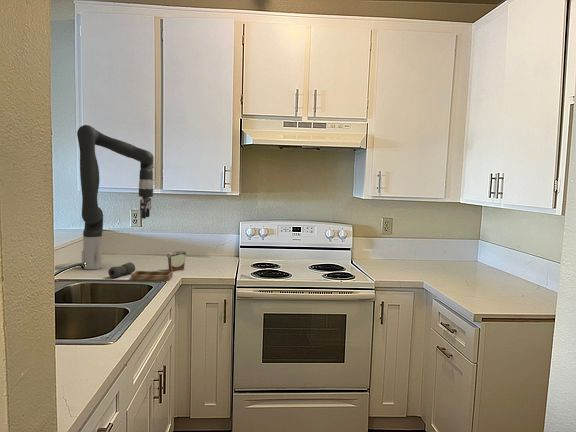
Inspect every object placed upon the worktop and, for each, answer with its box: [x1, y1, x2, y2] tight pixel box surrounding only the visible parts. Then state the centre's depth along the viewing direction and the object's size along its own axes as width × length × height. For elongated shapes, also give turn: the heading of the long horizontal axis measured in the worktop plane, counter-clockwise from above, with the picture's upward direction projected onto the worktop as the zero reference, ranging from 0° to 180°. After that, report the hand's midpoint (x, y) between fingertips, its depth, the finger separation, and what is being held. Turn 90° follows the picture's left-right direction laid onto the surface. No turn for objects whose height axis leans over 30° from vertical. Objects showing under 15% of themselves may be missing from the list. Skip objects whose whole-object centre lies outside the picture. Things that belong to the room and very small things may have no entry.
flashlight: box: [108, 261, 137, 278], centre depth 237 cm, size 15×5×5 cm, turn 162°
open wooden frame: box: [130, 270, 174, 282], centre depth 234 cm, size 18×10×2 cm, turn 94°
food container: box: [166, 250, 187, 273], centre depth 255 cm, size 12×6×10 cm, turn 149°
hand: (145, 217), depth 256 cm, fingers open, 8 cm apart
